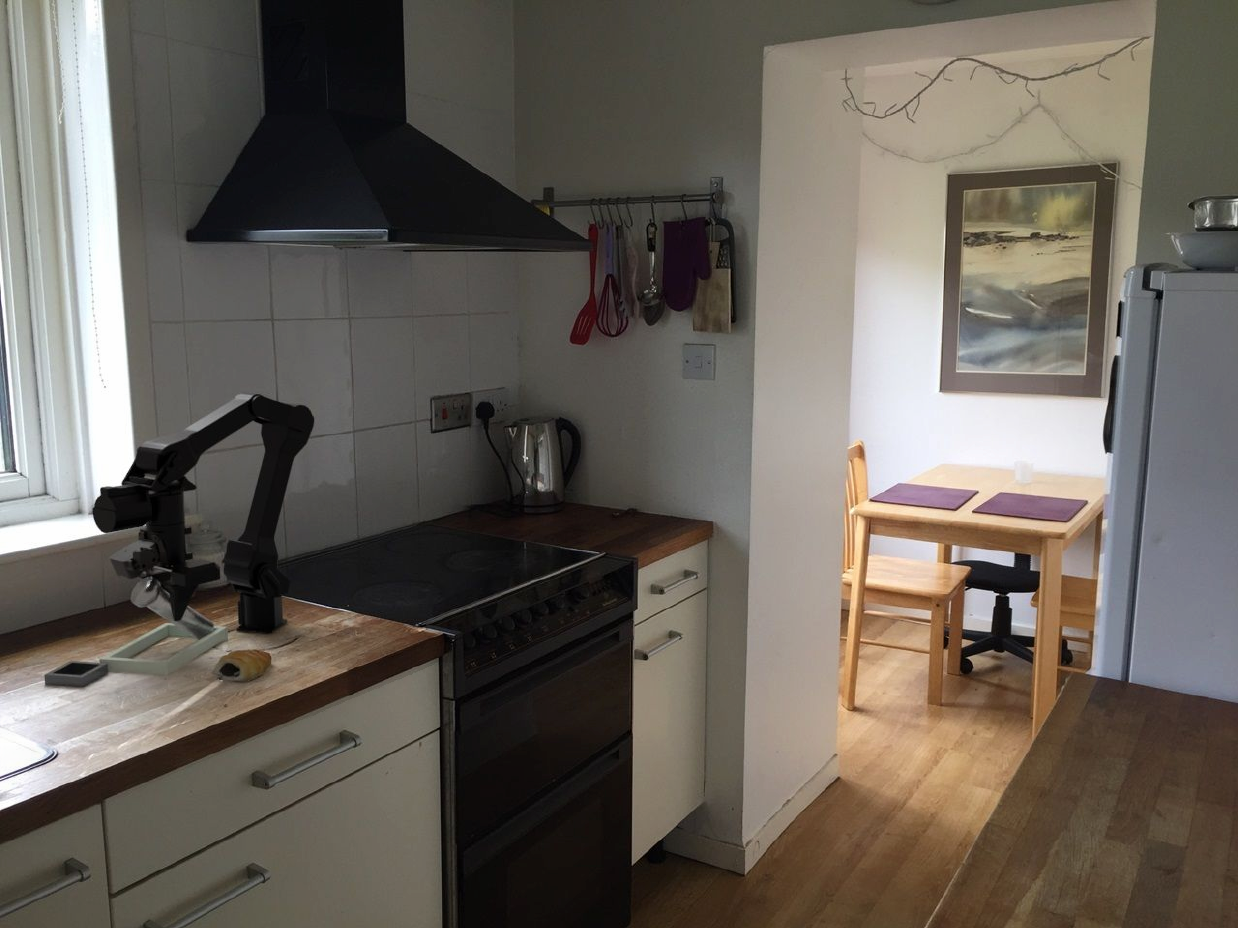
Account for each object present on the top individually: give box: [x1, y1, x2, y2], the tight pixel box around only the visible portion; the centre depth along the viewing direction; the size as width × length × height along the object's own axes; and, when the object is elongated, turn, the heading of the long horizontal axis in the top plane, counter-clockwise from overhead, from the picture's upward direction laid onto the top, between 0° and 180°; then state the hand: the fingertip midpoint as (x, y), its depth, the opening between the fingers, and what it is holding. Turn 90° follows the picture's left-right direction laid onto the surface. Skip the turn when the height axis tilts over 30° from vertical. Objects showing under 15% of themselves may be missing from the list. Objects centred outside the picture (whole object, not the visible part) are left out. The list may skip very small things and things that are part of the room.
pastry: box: [212, 648, 272, 683], centre depth 167 cm, size 9×7×4 cm
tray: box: [98, 622, 229, 676], centre depth 173 cm, size 11×18×2 cm, turn 171°
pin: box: [130, 577, 215, 641], centre depth 173 cm, size 5×5×14 cm
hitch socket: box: [44, 660, 109, 689], centre depth 161 cm, size 6×6×2 cm
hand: (170, 618), depth 173 cm, fingers closed on pin, 3 cm apart
